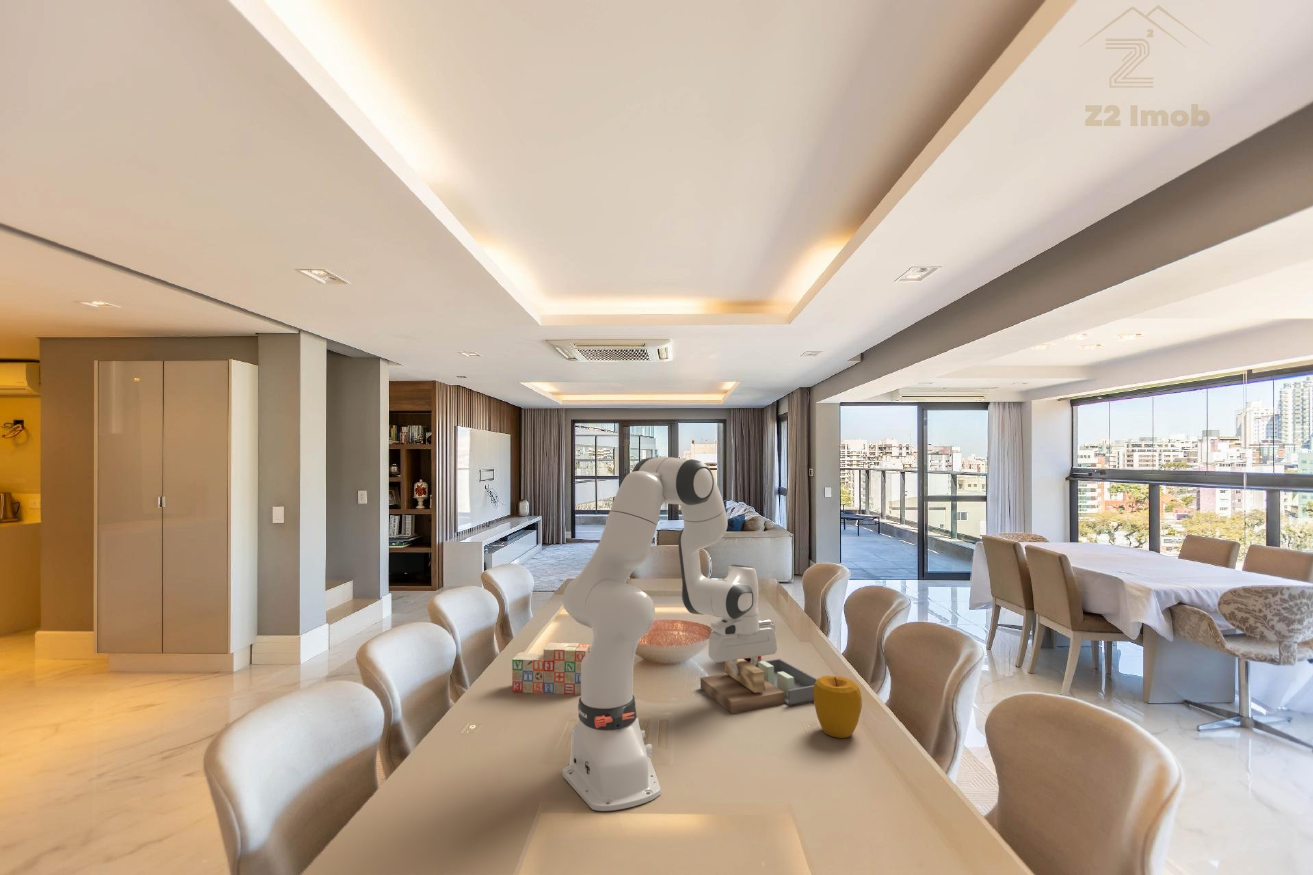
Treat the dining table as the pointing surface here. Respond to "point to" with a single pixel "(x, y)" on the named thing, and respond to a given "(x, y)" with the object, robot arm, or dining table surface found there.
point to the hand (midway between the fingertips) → (743, 673)
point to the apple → (837, 705)
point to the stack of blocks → (550, 669)
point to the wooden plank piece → (747, 675)
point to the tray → (801, 683)
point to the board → (740, 694)
